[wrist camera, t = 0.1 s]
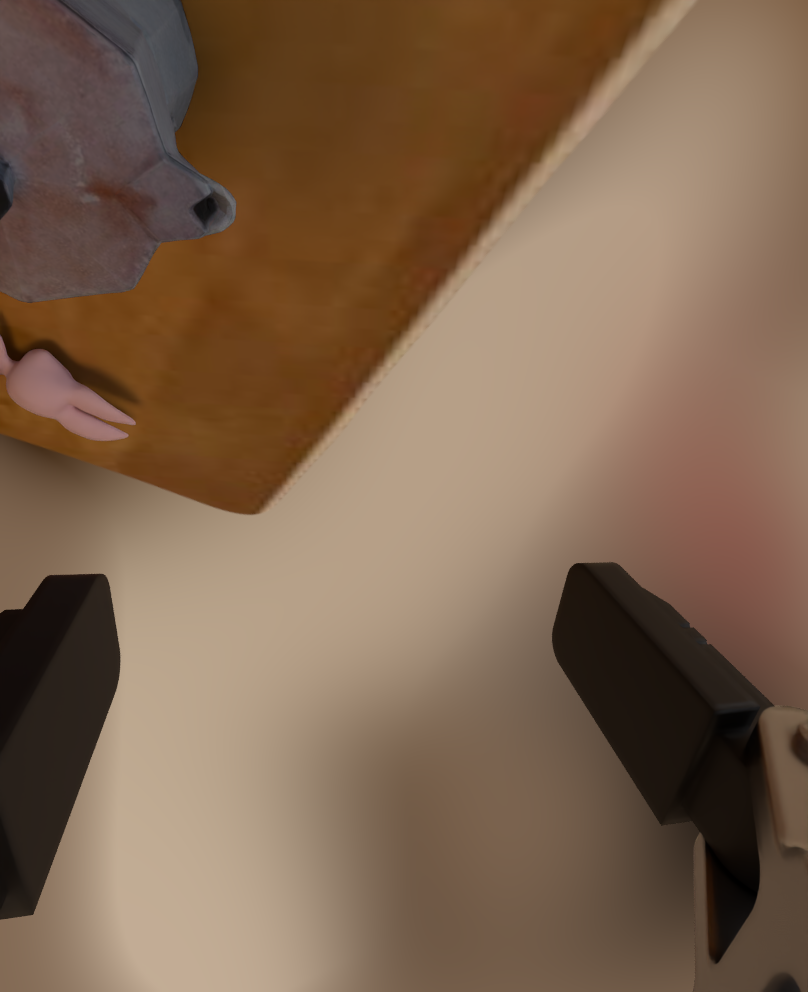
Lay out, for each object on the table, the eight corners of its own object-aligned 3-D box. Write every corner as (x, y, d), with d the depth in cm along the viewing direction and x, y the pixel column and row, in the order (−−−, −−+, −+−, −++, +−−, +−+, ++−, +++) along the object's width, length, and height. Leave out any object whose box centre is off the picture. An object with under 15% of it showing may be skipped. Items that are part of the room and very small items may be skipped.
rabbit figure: (-94, 329, 37) (124, 443, 43) (-162, 372, 32) (93, 491, 39) (-76, 256, 34) (156, 390, 40) (-148, 291, 29) (126, 436, 36)
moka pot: (250, 186, 32) (222, 380, 19) (-59, 113, 28) (-387, 298, 14) (264, -29, 26) (235, 32, 12) (-138, -169, 21) (-875, -315, 8)
